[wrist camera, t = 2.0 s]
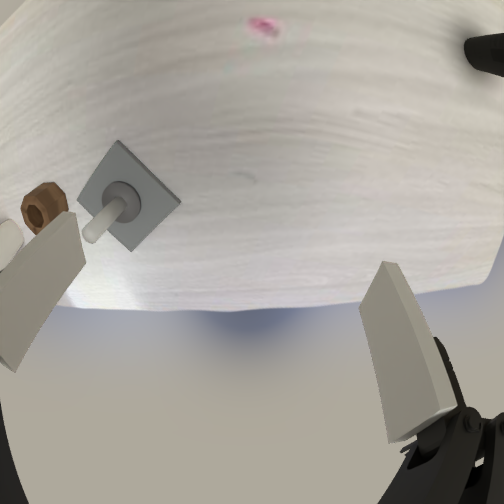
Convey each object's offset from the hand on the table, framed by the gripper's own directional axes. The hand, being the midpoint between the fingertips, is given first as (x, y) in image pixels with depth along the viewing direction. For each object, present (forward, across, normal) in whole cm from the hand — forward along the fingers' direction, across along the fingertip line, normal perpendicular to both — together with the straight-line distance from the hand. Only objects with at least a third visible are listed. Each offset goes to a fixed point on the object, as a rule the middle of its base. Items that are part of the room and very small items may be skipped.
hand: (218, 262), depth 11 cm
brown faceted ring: (+23, -31, -12) cm, 41 cm away
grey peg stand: (+23, -16, -10) cm, 30 cm away
